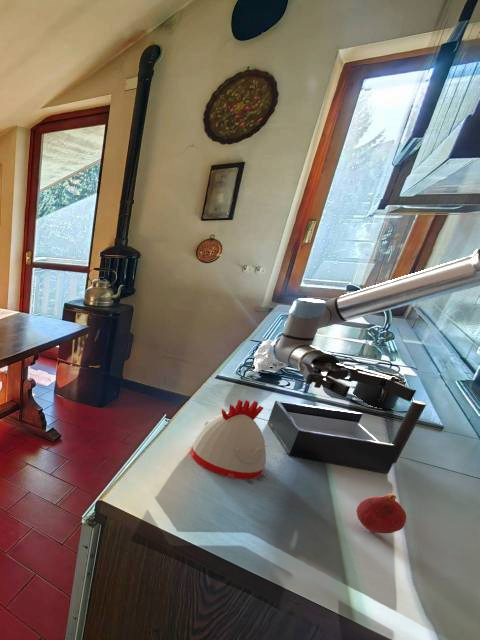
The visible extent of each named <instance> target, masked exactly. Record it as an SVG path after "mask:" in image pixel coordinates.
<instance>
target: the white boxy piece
mask: <svg viewBox="0 0 480 640" xmlns="http://www.w3.org/2000/svg"><path fill="white" fill-rule="evenodd" d="M426 406H427V403H426V402H423V401H420V400H411V403H410V405H409V406H408V409H407V411H406V413H405V415H404V417H403V419H402V421H401V422H400V424H399V426H398V428H397V430H396V432H395V435H394V436H393V438H392V440H391V443H390V444H394V445H400V446H401V447H402V448H401V450H400V452H399V454H398V455H397V457H396V459H395V461H394V463H393V464H396V463H397V461H398V460H399V458H400V456H401V454H402V453H403V450H404V448H405V446H406V445H407V442H408V441H409V439H410V437H411V435H412V433H413V431H414V429H415V428H416V426H417V423H418V422H419V419H420V418H421V416H422V414H423V412H424V411H425V408H426ZM288 413H289V414H290V416H291V417H292V418H293V419H294V421H295V422H296V423H297V424H298V426H299V427H300V428H301V429H302V430H307V431H314V432H320V433H326V434H332V435H338V436H345V437H351V438H357V439H363V440H369V441H376V442H380V441H379V440H378V439H377V437H375V436H374V435H372V434H371V433H370V432H369V431H368V430H367V429H366V428H365V427H363V425H361V424H360V422H359V423H358V422H352V421H345V420H338V419H332V418H325V417H318V416H312V415H305V414H298V413H292V412H288Z"/></svg>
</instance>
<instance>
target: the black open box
mask: <svg viewBox="0 0 480 640" xmlns="http://www.w3.org/2000/svg"><path fill="white" fill-rule="evenodd" d="M288 412H292V413H298V414H305V415H312V416H318V417H325V418H332V419H338V420H345V421H352V422H358V423H359V424H360V421H361V420H362V417H363V413H361V412H358V411H350V410H343V409H336V408H329V407H323V406H322V407H321V406H315V405H309V404H301V403H295V402H288V401H287V402H286V401H280V400H275V401H274V404H273V407H272V409H271V412H270V414H269V418H268V421H267V426H268V427H269V428H270V430H271V431H272V434H273V435H274V436H275V437H276V439H277V440H278V442H279V443H280V445H281V446H282V448H283V450H284V451H285V452H286V454H287V455H288V456H289V457H292V458H297V459H304V460H307V461H308V460H309V461H314V462H320V463H326V464H332V465H337V466H341V467H348V468H353V469H359V470H365V471H370V472H375V473H380V474H384V475H385V474H386V475H387V474H389V473H390V471H391V469H392V467H393V465H394V464H395V463H394V461H395V459H396V457H397V455H398V454H399V452H400V450H401V448H402V447H401V446H400V445H394V444H391V443H387V442H381V441H379V442H376V441H369V440H363V439H357V438H351V437H345V436H338V435H332V434H326V433H320V432H314V431H307V430H302V429H301V428H300V427H299V426H298V424H297V423H296V422H295V421H294V419H293V418H292V417H291V416H290V414H289V413H288Z"/></svg>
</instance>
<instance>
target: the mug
mask: <svg viewBox="0 0 480 640" xmlns="http://www.w3.org/2000/svg"><path fill="white" fill-rule="evenodd" d="M368 370H369V369H368ZM369 371H373V372H377V373H380V374H384V375H388V376H391V377H392V376H395V377H396V378H398V379H400V381H399V383H400V384H403V385H405V386H406V383H407V381H408V380H407V379H406V378H405V377H402V376H400V375H397V374H393V373H390V372H386V371H379V370H369ZM352 393H353V394H354V395H356V396H357V397H358V398H359V399H361V400H363V402H365V403H367V404H368V405H371V406H373V407H377V408H382V409H391V408H393V409H394V408H395V406H396V405H397V402H398V400H399V398H400V397H398V396H396V395H394V394H391V393H389V392H387V391H385V390H383V388H381V387H377V386H373V385H369V384H365V383H361V382H357V381H356V385H355V387H354V389H353V391H352ZM361 406H362V407H364V406H363V405H361ZM391 410H392V409H391Z"/></svg>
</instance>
